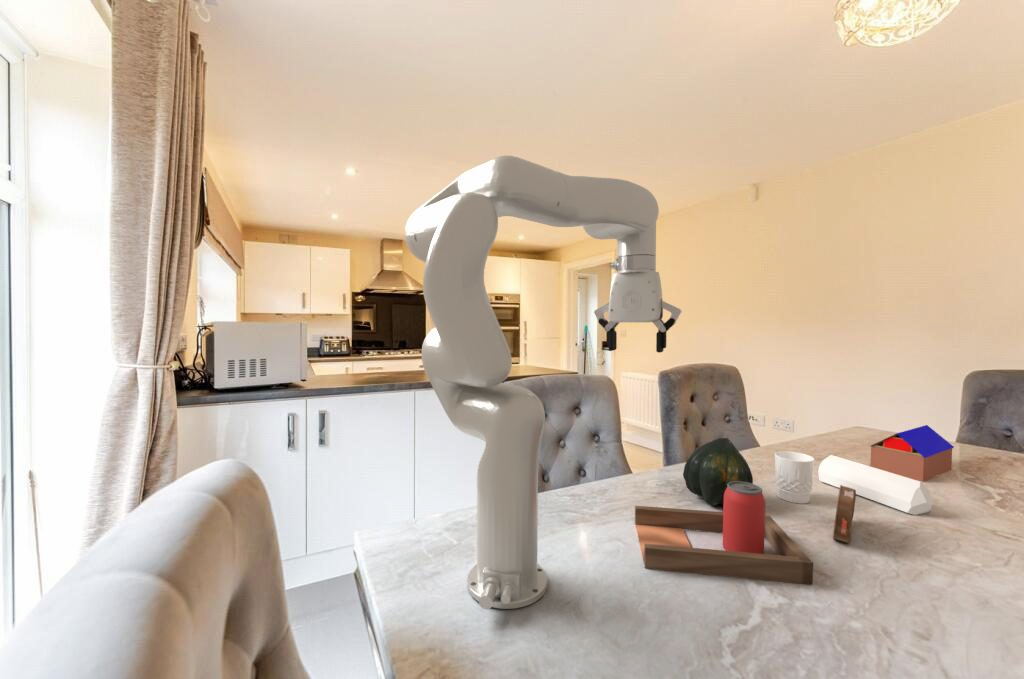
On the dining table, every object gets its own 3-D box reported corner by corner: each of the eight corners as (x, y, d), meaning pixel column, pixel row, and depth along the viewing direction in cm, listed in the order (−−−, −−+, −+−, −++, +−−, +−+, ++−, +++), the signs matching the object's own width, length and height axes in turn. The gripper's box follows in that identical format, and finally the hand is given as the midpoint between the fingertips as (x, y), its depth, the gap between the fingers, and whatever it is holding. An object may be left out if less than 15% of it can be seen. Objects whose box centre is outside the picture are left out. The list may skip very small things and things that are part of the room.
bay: (812, 584, 69) (813, 563, 69) (645, 568, 73) (645, 547, 73) (768, 532, 86) (769, 515, 85) (634, 522, 90) (634, 505, 90)
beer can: (769, 564, 75) (771, 495, 74) (728, 559, 76) (730, 492, 75) (756, 544, 81) (758, 481, 81) (718, 541, 82) (719, 478, 82)
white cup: (797, 491, 107) (799, 450, 106) (821, 504, 99) (823, 461, 98) (766, 491, 106) (767, 451, 106) (787, 505, 99) (789, 461, 98)
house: (868, 469, 123) (869, 428, 123) (899, 458, 133) (900, 420, 132) (923, 483, 113) (925, 438, 112) (953, 470, 122) (955, 429, 122)
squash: (676, 484, 97) (725, 436, 94) (668, 464, 111) (711, 423, 109) (727, 532, 94) (779, 484, 92) (712, 506, 109) (757, 464, 106)
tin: (836, 518, 92) (837, 478, 92) (855, 522, 90) (856, 482, 90) (831, 546, 81) (833, 501, 80) (853, 552, 79) (854, 506, 78)
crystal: (949, 497, 94) (837, 462, 117) (931, 483, 92) (820, 451, 115) (936, 528, 93) (826, 487, 116) (917, 515, 91) (809, 476, 114)
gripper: (588, 267, 89) (588, 351, 90) (677, 261, 80) (676, 354, 81) (601, 270, 96) (601, 348, 97) (684, 265, 87) (683, 351, 88)
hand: (635, 351), depth 89 cm, fingers open, 9 cm apart
